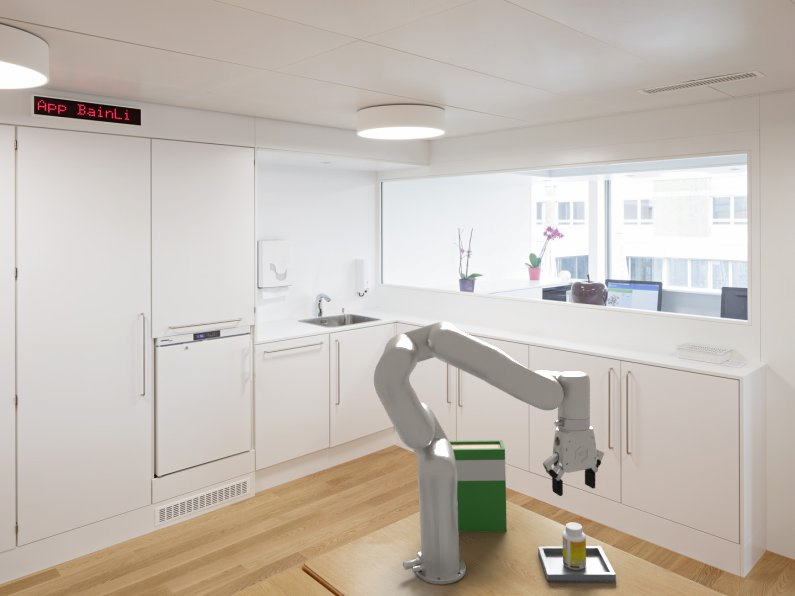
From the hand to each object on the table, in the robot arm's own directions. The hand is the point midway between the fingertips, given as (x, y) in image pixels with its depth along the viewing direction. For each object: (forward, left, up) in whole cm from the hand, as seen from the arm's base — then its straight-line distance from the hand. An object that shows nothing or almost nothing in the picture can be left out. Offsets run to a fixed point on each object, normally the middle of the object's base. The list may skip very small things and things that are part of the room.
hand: (574, 490), depth 146 cm
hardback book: (-12, +30, -20) cm, 38 cm away
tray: (0, 0, -20) cm, 20 cm away
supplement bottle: (0, 0, -20) cm, 20 cm away
